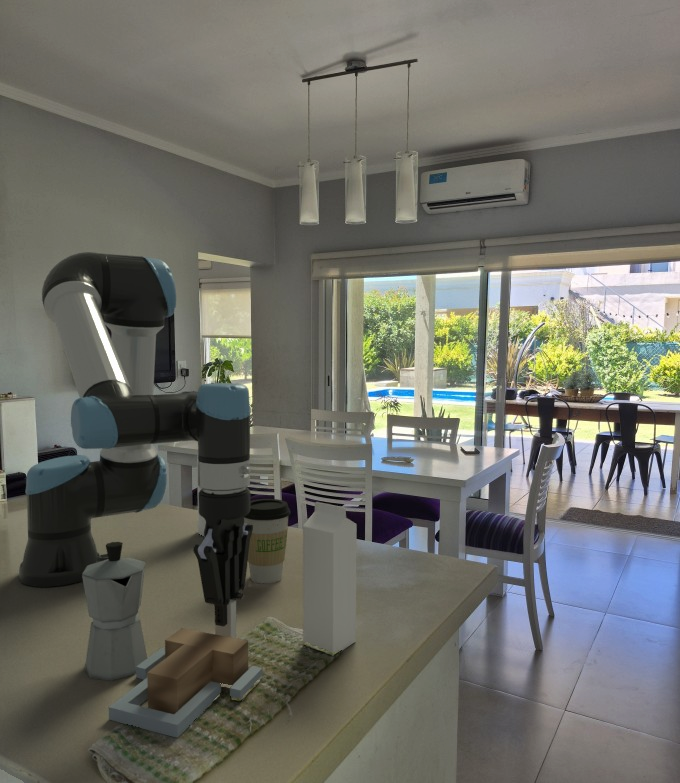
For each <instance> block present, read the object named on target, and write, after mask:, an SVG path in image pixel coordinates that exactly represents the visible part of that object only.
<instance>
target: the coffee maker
mask: <svg viewBox="0 0 680 783" xmlns="http://www.w3.org/2000/svg"><path fill="white" fill-rule="evenodd" d="M123 545H124V544H123V542H121V541H112V542H111V541H110V542H109V543H106V544H105V549H106V553H105V554H104V553H103V554H99V555H100V556H98V557H97V561H96V563H94V564H91V565H88V566H87V567H86V569H85V570H84V572H83V573H82V578H83V581H82V584H83V589H84V595H85V599H86V607H87V611H88V616H89V618H92V622H91V623H90V629H89V634H88V635H89V637H88V643H87V644H88V645H87V651H86V657H85V658H86V659H85V664H84V669H85V671H86V673H87V675H88V678H89V679H94V680H102V681H108V682H109V681H110V682H113V681H116V680H118V679H123V678H126V677H129V676H133V675H136V666H138V665H139V664H140V663H142V662H143V661H144V660H146V659H147V658H148V654H147V649H146V644H145V639H144V633H143V627H142V622H141V618H140V616H139V615H138V614H139V609H140V607H141V605H142V598H143V588H144V587H143V586H144V580H145V571H146V570H145V569H146V564H147V563H146V561H143V560H140V559H136V558H133V557H122V556H121V555H122V550H123Z"/></svg>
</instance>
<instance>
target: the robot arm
mask: <svg viewBox="0 0 680 783" xmlns="http://www.w3.org/2000/svg"><path fill="white" fill-rule="evenodd" d="M41 301H42V304H43V308H44V311H45V314H46V315H47V317H48V318H49V319H50V320H51V321H52V322H53V323H55V326H56V328H57V332H58V335H59V338H60V342H61V344H62V347H63V350H64V353H65V356H66V359H67V362H68V366H69V369H70V371H71V374H72V378H73V381H74V384H75V388H76V391H77V393H78V398H76V399H75V400H74V401H73V402H72V406H71V411H70V426H71V430H72V438H73V441H74V444H76V446H77V447H78V448H81V449H84V450H87V449H88V450H95V449H99V450H100V452H99V460H95V461H91V460H90V459H89V458H90V457H89V456H87V455H84V454H83V455H82V454H76V455H67V456H59V457H55V458H52V459H47V460H44V461H40V462H38V463H36V464H34V465H32V466H31V467H30V468H29V469H28V471H27V473H26V482H25V485H26V486H25V489H24V490H25V494H26V510H27V512H26V515H27V516H26V517H27V542H26V545H25V546H26V547H25V549H24V554H23V558H22V562H21V563H20V565H19V569H18V572H19V574H18V575H19V576H18V577H19V582H21V584H24V585H26V586H31V587H39V588H41V587H42V588H45V587H46V588H49V587H60V586H66V585H71V584H75V583H79V582H83V578H82V573H83V572H84V570H85V569H86V567H87V566H88V565H91V564H94V563H96V561H97V557H98V556H100V555H101V554H100V553H99V552H98V549H97V546H96V542H95V539H94V538H93V535H92V526H91V525H92V522H91V521H92V519H95V518H96V519H97V518H101V517H111V516H116V515H117V516H118V515H124V514H131V513H132V514H133V513H136V514H137V513H140V512H143V511H147V510H151V509H155V508H157V506H158V505H159V504H161V502H162V500H163V498H164V496H165V493H166V489H167V481H168V473H166V472H167V466H166V461H165V460H164V458H163V457H162V456H160V455H159V452H158V449H157V448H156V447H155V446H154V445H155V444H156V445H157V444H167V443H168V444H169V443H178V442H179V443H180V442H190V441H194V442H197V454H198V481H197V487H198V486H199V487H200V488H202V489H201V490H200V492H199V514H200V515H201V516H202V517H203V518H204V519H205V520H206V525H205V529H204V539H203V541H202V542H201V544H195V545H193V549H192V550H193V554H194V555H195V557H196V559H197V563H198V569H199V575H200V581H201V587H202V593H203V598H204V599H203V600H204V602H205V604H209V605H214V625H215V628H214V629H215V630H214V632H215V635H220V636H226V637H231V638H236V639H237V600H242V599H243V597H244V592H243V593H242V592H240V590H242V591H243V590H244V589H245V587H246V578H247V569H248V563H249V562H248V553H249V544H250V538H251V535H252V531H253V525H251V524H246V523H244V516H246V515H247V514H248V513H249V512H250V501H251V490H250V489H249V488H248V486H249V485H251V476H250V474H251V472H252V468H250V467H251V466H250V464H251V463H250V459H251V458H250V457H251V413H252V412H251V411H252V408H251V406H250V404H251V403H250V393H249V388H248V387H247V386H246V385H245V384H243V383H234V382H233V383H232V382H219V383H218V382H214V383H203V384H201V385H200V386H199V387H198V389H197V390H196V391H195V390H192V391H181V392H178V393H165V394H163V393H162V394H154V388H155V386H154V384H155V367H156V366H155V362H156V342H157V334H158V333H159V332H160V331H161V330H162V329H163V328H164V327H165V318H169V317H171V316H173V315H174V314H175V310H176V308H177V288H176V283H175V279H174V276H173V273H172V270H171V269H170V267H169V265H168V264H167V263H166V262H165V261H163V260H161V259H160V258H153V257H147V256H144V255H140V256H139V255H126V254H125V255H123V254H113V253H112V254H111V253H99V252H93V251H92V252H91V251H87V252H85V251H84V252H78V253H74V254H71V255H70V256H67V257H65V258H64V259H62V260H60V261H59V262H57V263H56V265H54V266H53V267H52V268H51V270H50V271H49V272H48V274H47V275H46V277H45V280H44V282H43V285H42V288H41ZM108 329H109V330H110V332H111V335H110V333H109V330H108Z"/></svg>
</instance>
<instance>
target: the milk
mask: <svg viewBox="0 0 680 783" xmlns="http://www.w3.org/2000/svg"><path fill="white" fill-rule="evenodd" d="M346 512H347V510H346V508H345V506H340V505H339V506H338V505H333V504H330V503H323V502H319V501H316V502H314V512H313V513H312V515H311V516H310V517H309V518H308V519H307V520H306V521H305V523H304V524H303V525H302V609H303V610H302V642H303V641H304V642H308V643H310V644H313V645H316V646H318V647H320V648H323V649H326V650H328V651H330V652H332V653H334V652H336V651H338V650H342V651H344V650H346V648H349V646H351V645H352V644H354V643H356V642H357V533H358V532H357V528H358V527H357V526H358V525H357V523H355V522H354V521H352V520H351V519H349V518H348V517H347V514H346Z"/></svg>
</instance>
